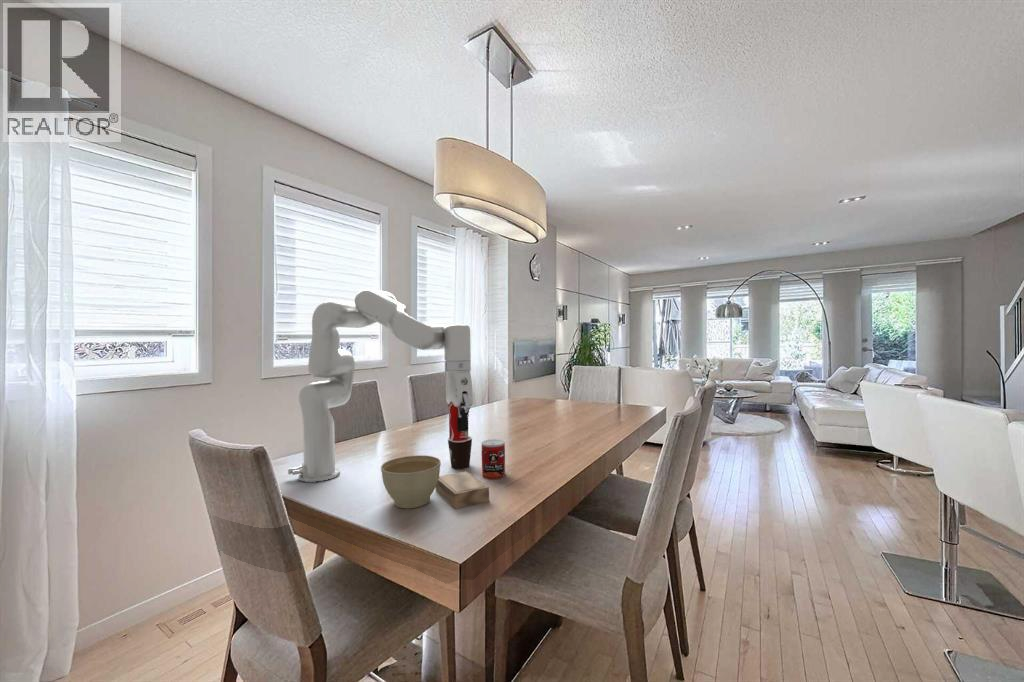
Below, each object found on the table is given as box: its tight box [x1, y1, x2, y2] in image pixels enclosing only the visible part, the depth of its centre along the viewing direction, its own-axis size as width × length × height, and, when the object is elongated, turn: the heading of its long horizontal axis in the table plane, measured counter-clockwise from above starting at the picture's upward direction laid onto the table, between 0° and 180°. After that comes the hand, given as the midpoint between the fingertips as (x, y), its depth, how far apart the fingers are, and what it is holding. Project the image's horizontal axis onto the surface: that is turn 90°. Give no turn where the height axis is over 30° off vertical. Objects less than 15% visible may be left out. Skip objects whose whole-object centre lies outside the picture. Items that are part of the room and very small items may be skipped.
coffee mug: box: [447, 435, 473, 470], centre depth 148 cm, size 12×9×10 cm
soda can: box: [448, 401, 469, 442], centre depth 120 cm, size 6×6×12 cm
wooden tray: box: [435, 470, 490, 510], centre depth 119 cm, size 10×16×4 cm, turn 29°
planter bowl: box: [380, 454, 442, 509], centre depth 115 cm, size 16×16×11 cm
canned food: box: [481, 438, 506, 480], centre depth 137 cm, size 8×8×11 cm
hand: (458, 428), depth 120 cm, fingers closed on soda can, 5 cm apart
